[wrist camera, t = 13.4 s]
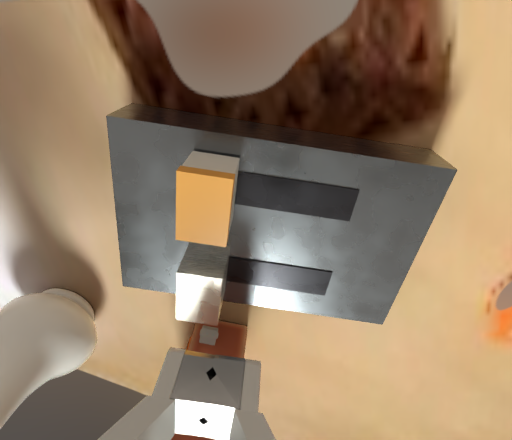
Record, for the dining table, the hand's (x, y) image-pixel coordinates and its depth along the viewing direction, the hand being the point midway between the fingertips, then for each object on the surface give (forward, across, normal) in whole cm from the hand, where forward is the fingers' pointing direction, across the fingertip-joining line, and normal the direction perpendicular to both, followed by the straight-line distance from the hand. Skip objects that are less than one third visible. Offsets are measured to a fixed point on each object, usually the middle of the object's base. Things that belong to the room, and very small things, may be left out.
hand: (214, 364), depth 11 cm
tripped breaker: (+13, +2, 0) cm, 13 cm away
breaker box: (+17, -2, +3) cm, 17 cm away
